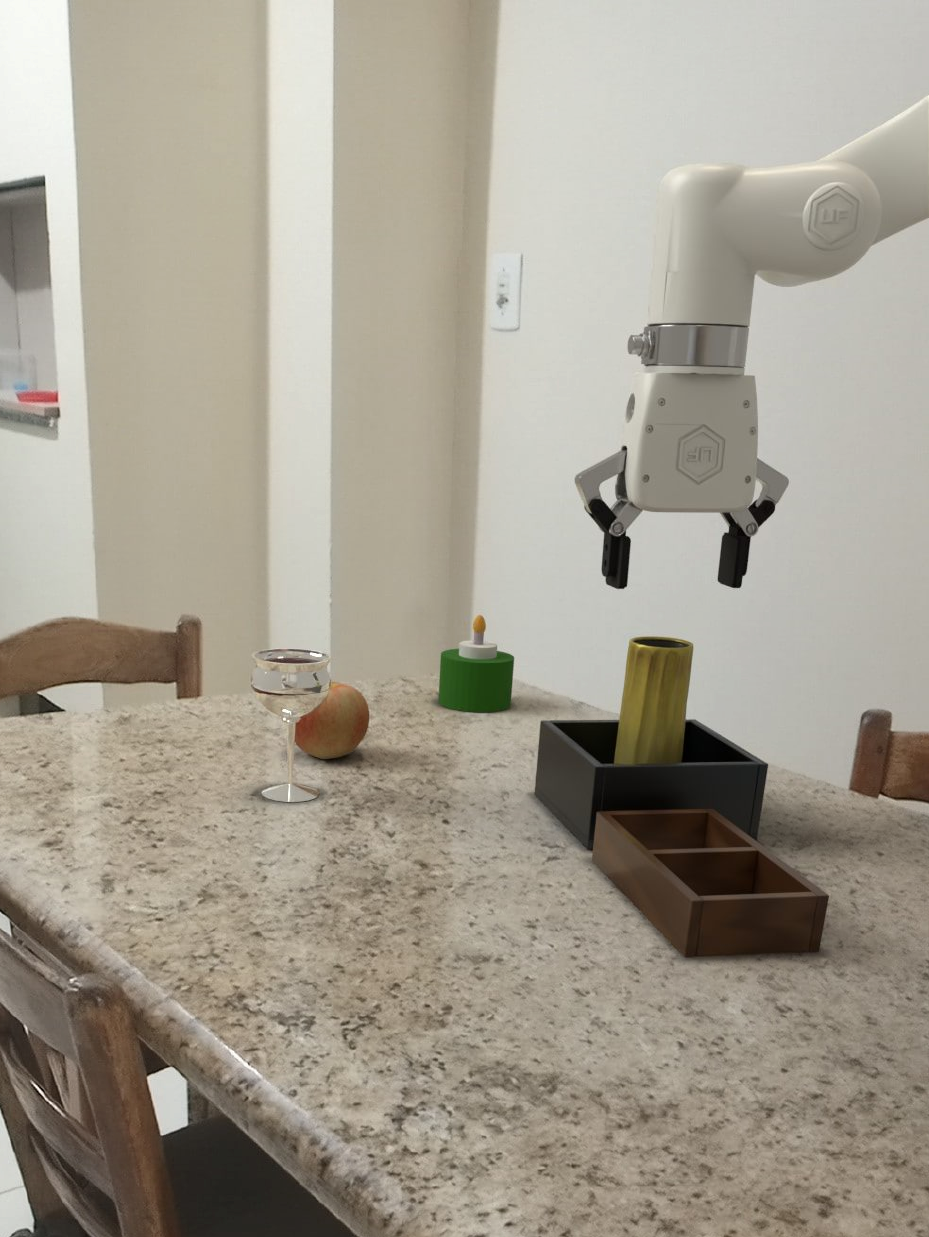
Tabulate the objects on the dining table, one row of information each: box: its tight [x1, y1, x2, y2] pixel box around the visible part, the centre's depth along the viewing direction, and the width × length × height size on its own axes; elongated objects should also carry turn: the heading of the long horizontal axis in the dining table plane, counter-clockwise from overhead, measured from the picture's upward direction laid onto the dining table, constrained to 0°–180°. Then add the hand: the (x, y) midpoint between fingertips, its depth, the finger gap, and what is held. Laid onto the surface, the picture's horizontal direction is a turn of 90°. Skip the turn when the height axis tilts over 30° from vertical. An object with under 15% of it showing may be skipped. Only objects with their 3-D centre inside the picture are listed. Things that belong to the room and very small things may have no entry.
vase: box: [614, 635, 694, 764], centre depth 108 cm, size 6×6×14 cm
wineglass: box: [250, 647, 332, 803], centre depth 111 cm, size 7×7×12 cm
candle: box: [437, 614, 515, 713], centre depth 146 cm, size 8×8×10 cm
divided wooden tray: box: [591, 809, 830, 958], centre depth 93 cm, size 10×18×4 cm, turn 12°
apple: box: [295, 681, 370, 760], centre depth 124 cm, size 8×8×8 cm
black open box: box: [534, 718, 769, 850], centre depth 110 cm, size 15×15×7 cm
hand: (672, 586), depth 104 cm, fingers open, 9 cm apart
